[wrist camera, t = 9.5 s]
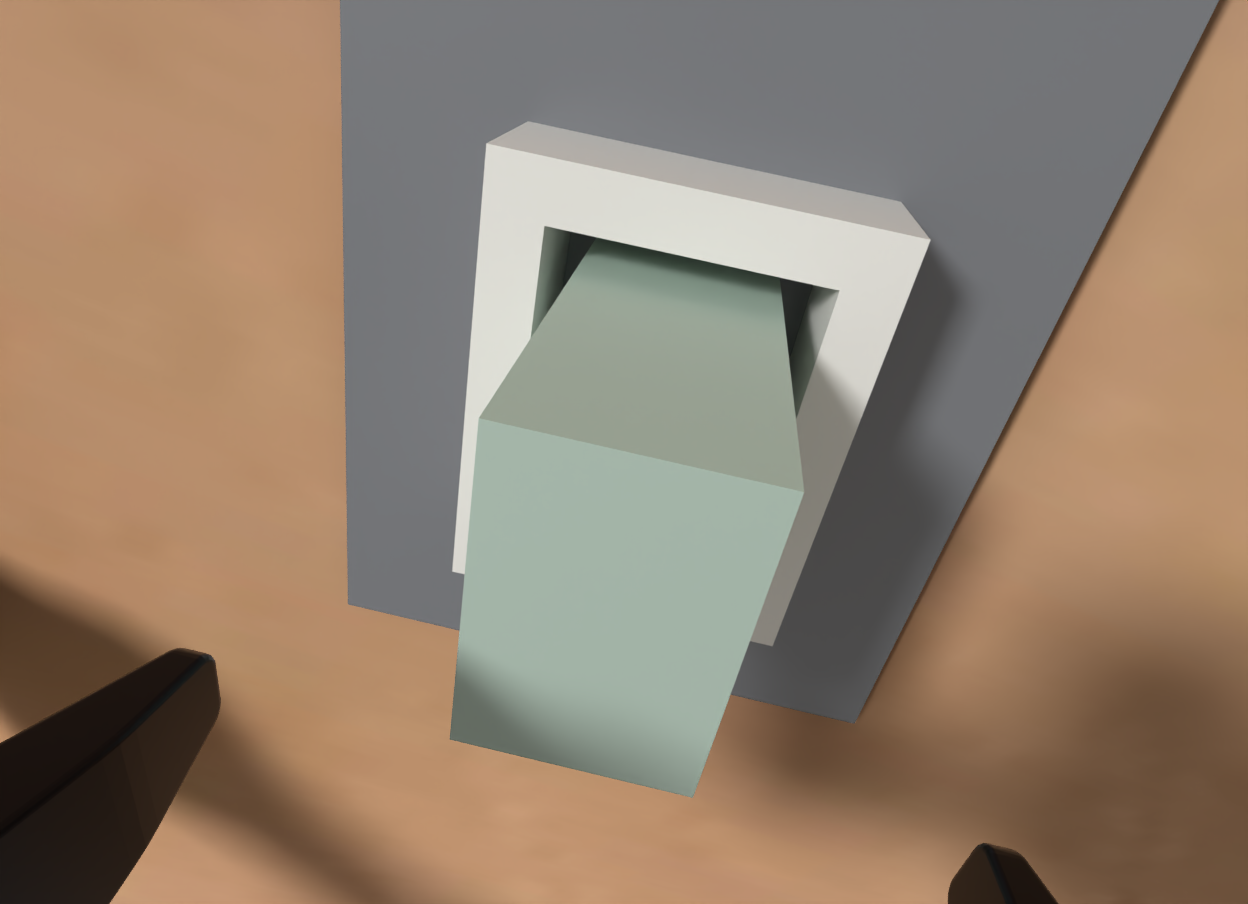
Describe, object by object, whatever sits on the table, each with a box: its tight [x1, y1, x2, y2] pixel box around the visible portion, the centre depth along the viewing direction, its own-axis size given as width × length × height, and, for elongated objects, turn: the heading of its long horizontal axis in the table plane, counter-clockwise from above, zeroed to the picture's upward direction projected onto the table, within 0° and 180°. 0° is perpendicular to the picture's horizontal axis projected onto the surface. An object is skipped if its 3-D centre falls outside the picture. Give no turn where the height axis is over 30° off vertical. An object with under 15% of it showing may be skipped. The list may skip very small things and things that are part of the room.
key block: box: [450, 237, 804, 798], centre depth 15 cm, size 4×6×9 cm, turn 170°
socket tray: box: [340, 0, 1219, 723], centre depth 17 cm, size 20×16×4 cm
